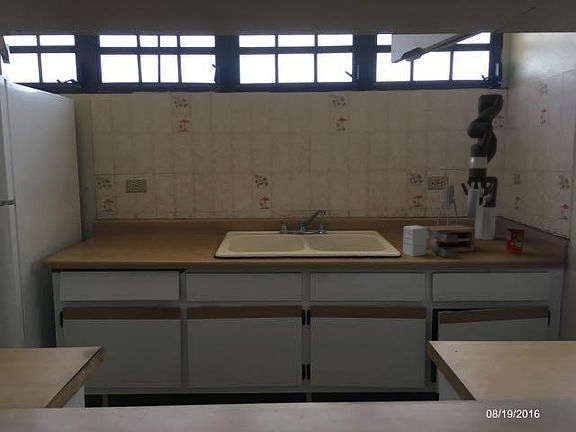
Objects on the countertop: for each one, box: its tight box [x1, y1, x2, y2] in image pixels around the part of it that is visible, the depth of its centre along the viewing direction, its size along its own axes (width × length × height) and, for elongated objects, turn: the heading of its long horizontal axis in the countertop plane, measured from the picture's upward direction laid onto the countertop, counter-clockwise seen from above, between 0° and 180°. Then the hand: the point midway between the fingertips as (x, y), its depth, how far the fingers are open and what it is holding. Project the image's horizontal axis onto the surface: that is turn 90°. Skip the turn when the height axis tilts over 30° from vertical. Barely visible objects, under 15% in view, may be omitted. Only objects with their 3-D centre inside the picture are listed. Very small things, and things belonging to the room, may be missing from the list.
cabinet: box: [424, 224, 476, 258], centre depth 206 cm, size 21×22×10 cm
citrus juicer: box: [436, 183, 459, 226], centre depth 225 cm, size 11×10×30 cm
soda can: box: [505, 224, 525, 255], centre depth 204 cm, size 7×7×12 cm
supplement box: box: [402, 225, 427, 257], centre depth 201 cm, size 7×7×13 cm
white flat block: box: [466, 188, 487, 219], centre depth 203 cm, size 4×20×12 cm, turn 147°
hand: (475, 205), depth 204 cm, fingers closed on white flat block, 3 cm apart
